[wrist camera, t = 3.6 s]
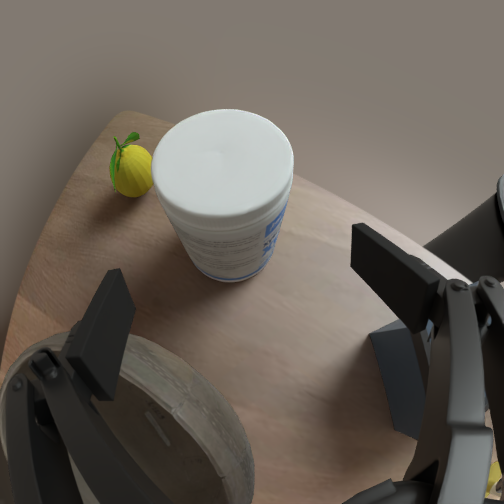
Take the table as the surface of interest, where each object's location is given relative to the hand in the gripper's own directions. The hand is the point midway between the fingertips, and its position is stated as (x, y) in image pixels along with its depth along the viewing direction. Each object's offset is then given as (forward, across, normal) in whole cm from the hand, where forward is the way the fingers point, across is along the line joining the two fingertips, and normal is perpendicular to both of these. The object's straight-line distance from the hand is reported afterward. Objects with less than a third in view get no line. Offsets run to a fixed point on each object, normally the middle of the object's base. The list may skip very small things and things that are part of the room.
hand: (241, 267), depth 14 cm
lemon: (+22, -10, +2) cm, 24 cm away
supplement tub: (+15, 0, -5) cm, 16 cm away
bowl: (+2, -12, -18) cm, 22 cm away
